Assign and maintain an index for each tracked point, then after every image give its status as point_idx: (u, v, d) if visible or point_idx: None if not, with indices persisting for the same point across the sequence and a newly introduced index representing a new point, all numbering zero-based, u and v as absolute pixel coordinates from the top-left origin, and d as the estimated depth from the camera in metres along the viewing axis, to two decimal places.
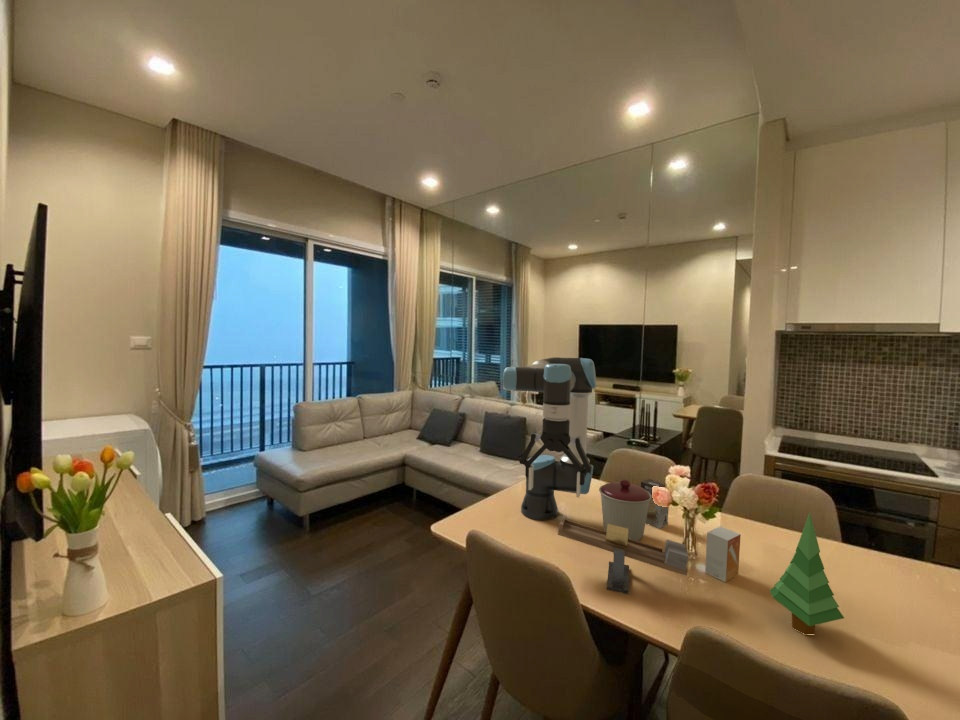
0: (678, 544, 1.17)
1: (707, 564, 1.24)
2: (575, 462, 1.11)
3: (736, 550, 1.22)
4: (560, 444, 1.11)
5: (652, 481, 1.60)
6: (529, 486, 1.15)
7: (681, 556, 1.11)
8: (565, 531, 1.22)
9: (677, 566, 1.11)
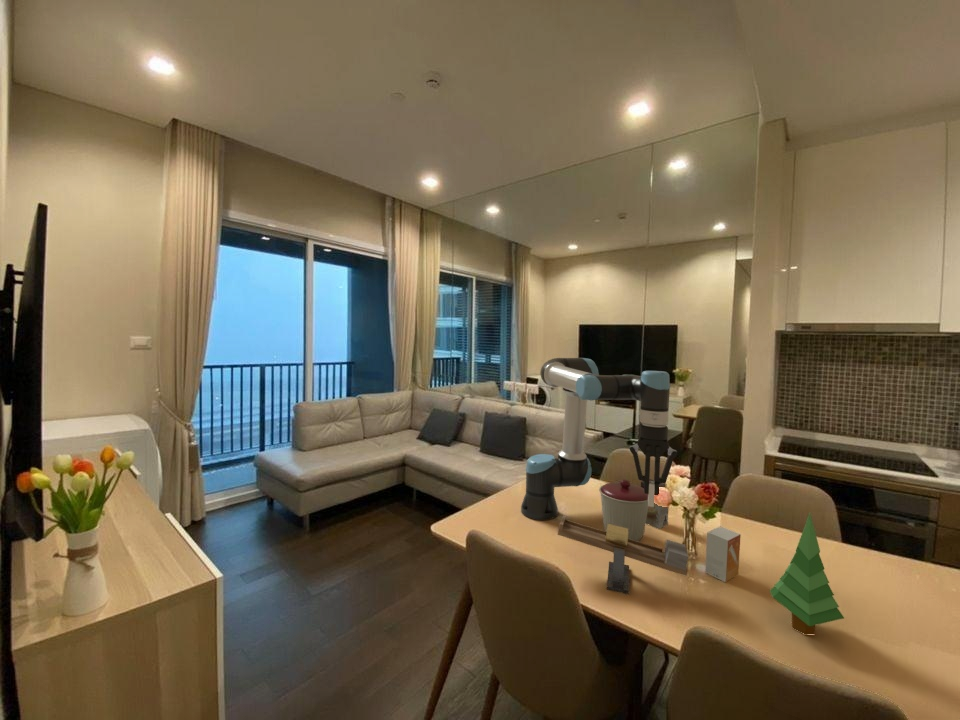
0: (678, 544, 1.17)
1: (707, 564, 1.24)
2: (657, 471, 1.14)
3: (736, 550, 1.22)
4: (658, 450, 1.13)
5: (652, 481, 1.60)
6: (649, 502, 1.15)
7: (681, 556, 1.11)
8: (565, 531, 1.22)
9: (677, 566, 1.11)
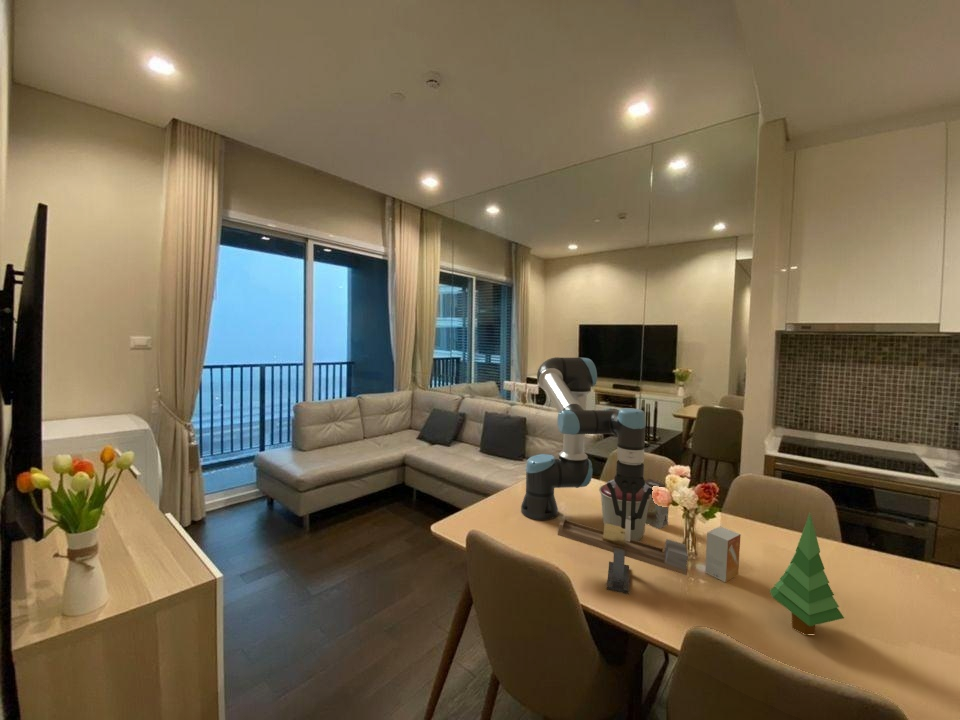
0: (678, 544, 1.17)
1: (707, 564, 1.24)
2: (634, 507, 1.17)
3: (736, 550, 1.22)
4: (634, 487, 1.16)
5: (652, 481, 1.60)
6: (626, 537, 1.18)
7: (681, 556, 1.11)
8: (565, 531, 1.22)
9: (677, 565, 1.11)
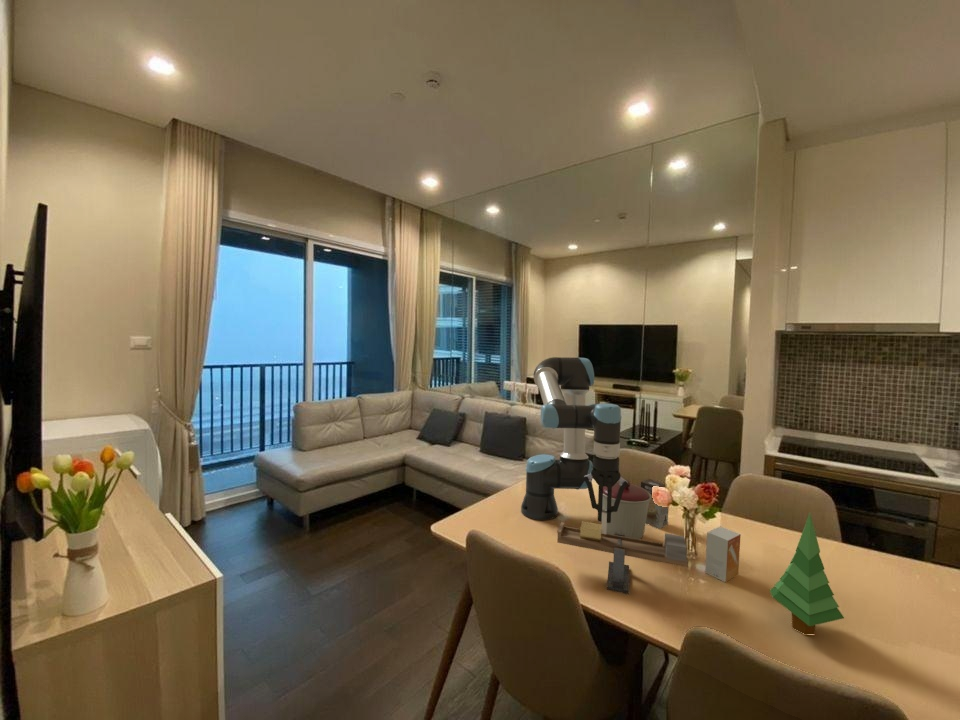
0: (676, 536, 1.17)
1: (707, 564, 1.24)
2: (609, 501, 1.19)
3: (736, 550, 1.22)
4: (610, 481, 1.18)
5: (652, 481, 1.60)
6: (602, 530, 1.20)
7: (679, 548, 1.11)
8: (564, 538, 1.22)
9: (677, 558, 1.11)
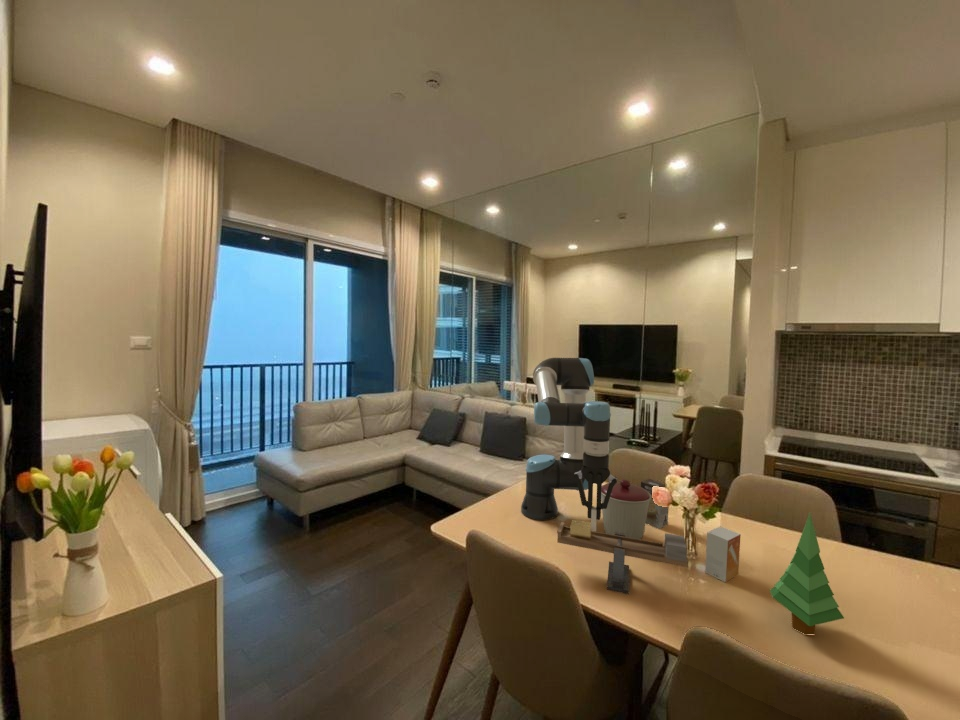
0: (676, 536, 1.17)
1: (707, 564, 1.24)
2: (599, 498, 1.20)
3: (736, 550, 1.22)
4: (599, 478, 1.19)
5: (652, 481, 1.60)
6: (591, 527, 1.21)
7: (679, 548, 1.11)
8: (564, 538, 1.22)
9: (677, 558, 1.11)
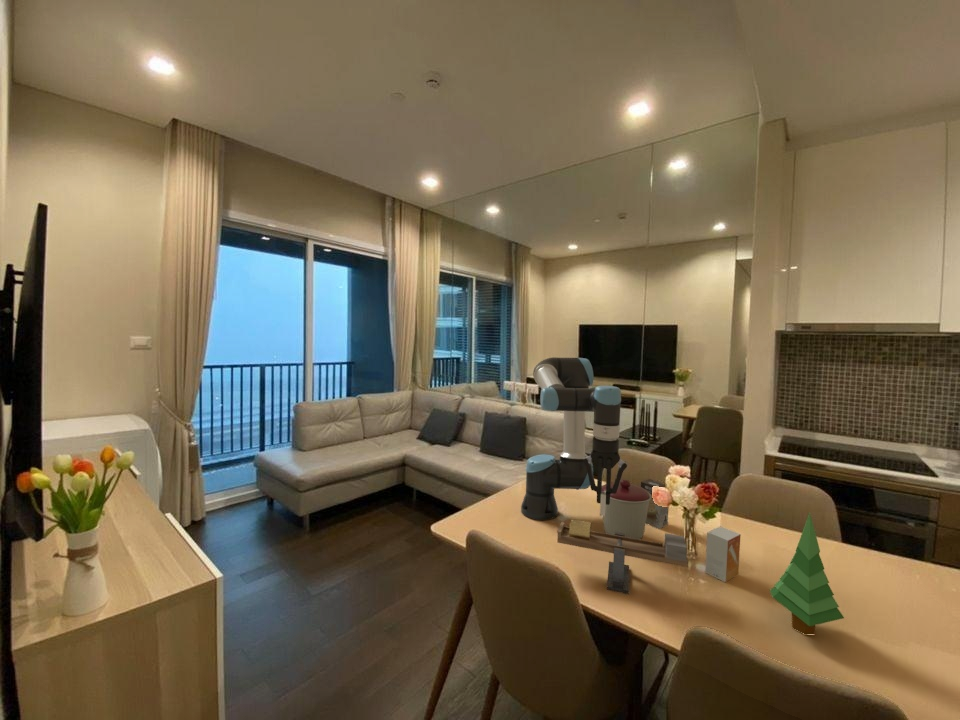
0: (676, 536, 1.17)
1: (707, 564, 1.24)
2: (609, 482, 1.19)
3: (736, 550, 1.22)
4: (609, 463, 1.18)
5: (652, 481, 1.60)
6: (601, 512, 1.21)
7: (679, 548, 1.11)
8: (564, 538, 1.22)
9: (677, 558, 1.11)
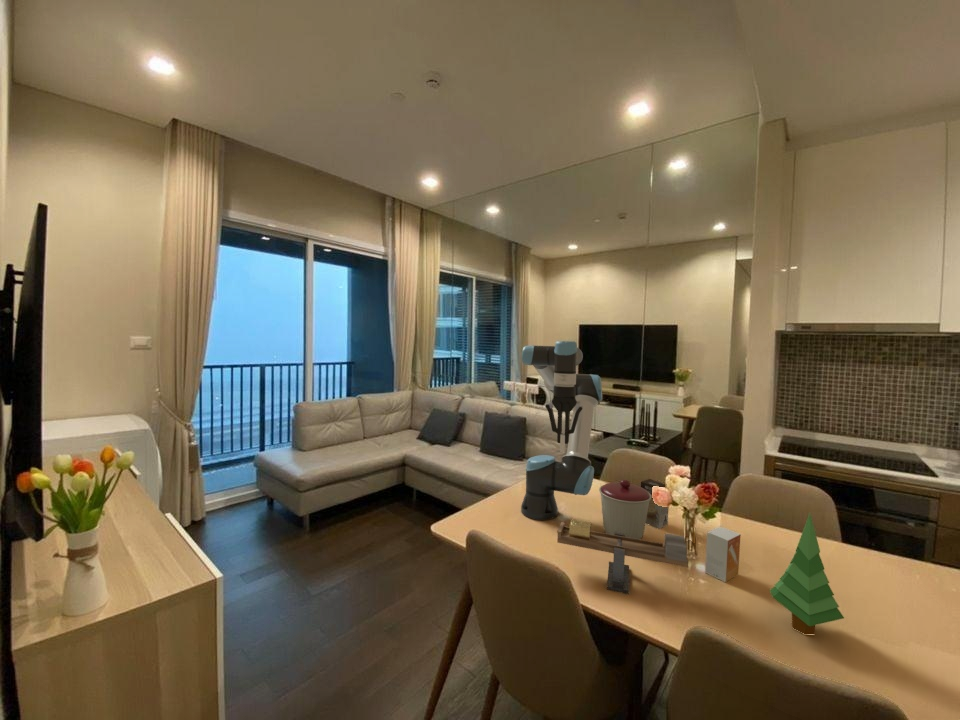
0: (676, 536, 1.17)
1: (707, 564, 1.24)
2: (567, 424, 1.38)
3: (736, 550, 1.22)
4: (567, 406, 1.37)
5: (652, 481, 1.60)
6: (560, 450, 1.39)
7: (679, 548, 1.11)
8: (564, 538, 1.22)
9: (677, 558, 1.11)
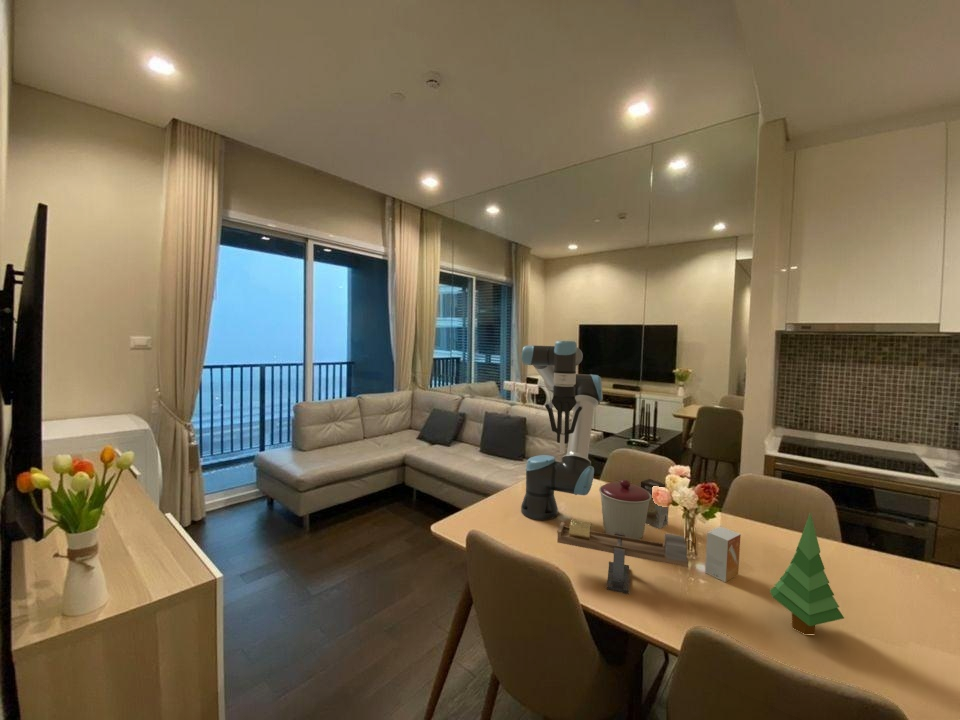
0: (676, 536, 1.17)
1: (707, 564, 1.24)
2: (567, 424, 1.38)
3: (736, 550, 1.22)
4: (567, 406, 1.37)
5: (652, 481, 1.60)
6: (560, 450, 1.39)
7: (679, 548, 1.11)
8: (564, 538, 1.22)
9: (677, 558, 1.11)
